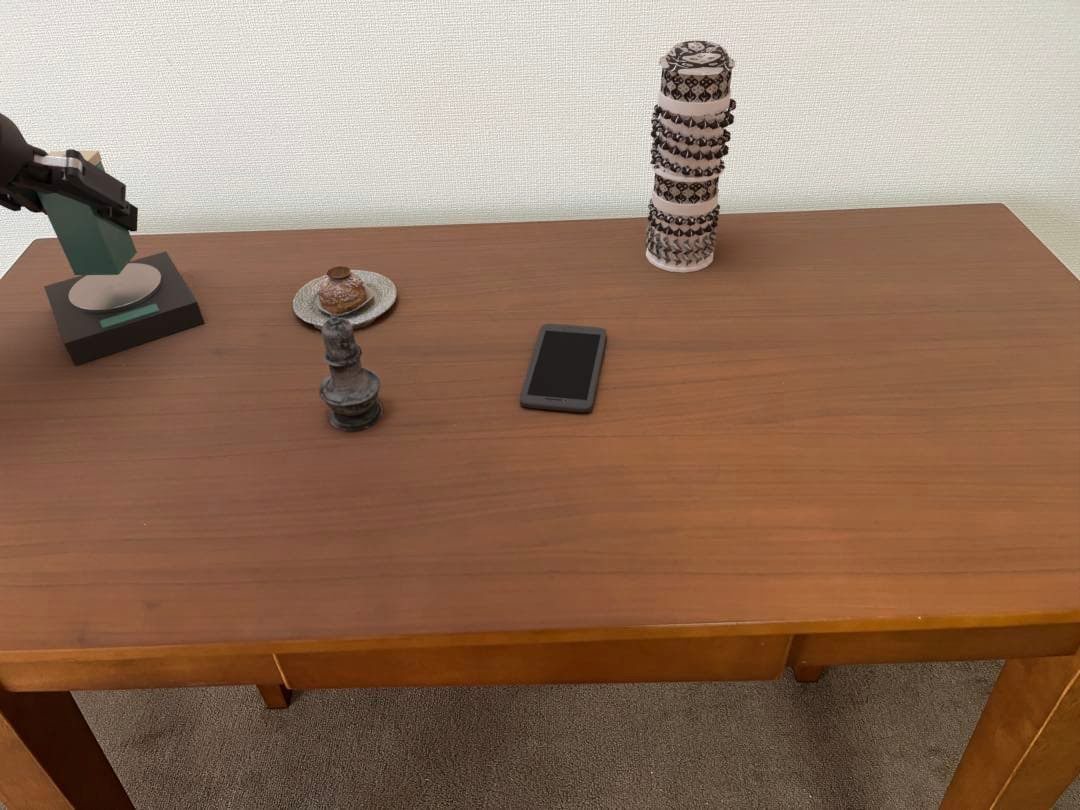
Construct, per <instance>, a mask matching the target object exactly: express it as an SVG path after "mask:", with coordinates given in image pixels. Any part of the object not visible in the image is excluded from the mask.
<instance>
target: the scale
mask: <svg viewBox="0 0 1080 810" xmlns="http://www.w3.org/2000/svg"><path fill="white" fill-rule="evenodd" d="M129 263H139V264H146V265H150V266H152V267H154V268H156V269H157V270H158V271H159V272H160V274H161V277H162V285H161V287H160V289H159V290H158V291H157V293H156V294H154V295H153V296H152V297H151V298H149V299H148V300H146V301H144V302H143V303H141V304H139V305H136V306H134V307H131V308H128V309H125V310H122V311H117V312H112V313H104V314H92V313H85V312H81V311H79V310H77V309H75V308H74V307H73V306H72V304H71V303H70V300H69V292H70V290H71V288H72V287H73V286H74V284H75V283H77V282H78V281H79V280H80V279H82V278H83V277H85V276H87V275H77V276H74V277H72V278H68V279H65V280H61V281H58V282H55V283H51V284H48V285H44V287H43V288H44V290H45V294H46V296H47V299H48V302H49V304H50V305H49V306H50V307H51V310H52V314H53V316H54V319H55V322H56V325H57V327H58V330H59V333H60V336H61V340H62V342H63V345H64V346H65V348H66V351H67V352H68V355H69V356H70V359H71V360H72V363H73V364H74V366H75V367H76V366H79V365H82V364H85V363H88V362H91V361H95V360H98V359H100V358H103V357H106V356H109V355H112V354H115V353H118V352H121V351H124V350H127V349H131V348H133V347H137V346H139V345H143V344H145V343H149V342H151V341H154V340H157V339H161V338H163V337H167V336H170V335H172V334H176V333H179V332H182V331H186V330H189V329H191V328H195V327H197V326H200V325H203V324H205V319H204V317H203V315H202V312H201V309H200V306H199V302H198V300H197V299H196V298H195V296H194V294H193V293H192V291H191V289H190V287H189V286H188V284H187V283H186V281H185V280H184V278H183V276H182V274H181V273H180V271H179V270H178V268H177V266H176V265H175V263H174V261H173V260H172V258H171V257H170V255H169V254H168V252H167V250H166V251H161V252H157V253H154V254H151V255H148V256H145V257H140V258H138V259H134V260H130V261H129Z"/></svg>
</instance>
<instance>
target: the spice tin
mask: <svg viewBox="0 0 1080 810" xmlns="http://www.w3.org/2000/svg"><path fill="white" fill-rule="evenodd" d="M78 151H79V152H80V153H81V154H82V156H83V157H84V159H85V160H87V161H88V162H90V163H91V164H93V165H95V166H96V167H98V168H100V169H101V170H103V171H104V172H106V170H105V167H104V165H103V163H102V160H103V159H102V156H101V153H100V150H78ZM63 154H66V150H62V151H58V150H57V151H56V150H55V151H49V152H48V155H49V156H55V157H63ZM36 192H37V194H38V196H39V198H40V200H41V203H42V205H43V207H44V209H45V211H46V214H47V215H46V217H47V218H48V220H49V223H50V224H51V227H52V229H53V231H54V233H55V236H56V238H57V240H58V242H59V244H60V246H61V248H62V250H63V253H64V255H65V257H66V259H67V261H68V264H69V266H70V268H71V271H72V272H73V274H74V276H82V275H119V274H120V273H121V271H122V270H123V269H124V268H125V266H126V265H127V264H128V263H129V262H130V261H132V259H133V258H134V257H135V256H136V254H137V253H138V252H137V248H136V246H135V243H134V241H133V238H132V236H131V232H130V231H129V230H127V229H125V228H123V227H121V226H120V225H118V224H116V223H114V222H112V221H110V220H109V219H107V218H102V217H101V215H99V214H98V213H97V209H96V208H94V207H91V206H89V205H86V204H83V203H81V202H78V201H75V200H73V199H70V198H68V197H65V196H62V195H60V194H57V193H51V194H44V193H41V192H38V191H36Z"/></svg>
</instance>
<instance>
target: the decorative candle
mask: <svg viewBox="0 0 1080 810" xmlns="http://www.w3.org/2000/svg"><path fill="white" fill-rule="evenodd" d="M658 65H660V66H661V77H660V82H661V83H660V86H659V89H658V97H657V98H658V100H657V104H656V105H654V107H653V110H654V111H653V112H652V114H651V115H652V118H651V120H650V123H651V125H652V126H651V129H652V130H651V131H650V137H652V138H653V139H652V143H651V147H652V148H651V149H650V154H651V160H650V163H649V164H650V165H651V169H652V170H653V172H654V181H653V182H654V184H653V185H652V191H651V198H650V200H649V203H648V206H647V208H648V210H649V212H648V214H649V215H648V216H647V221H648V223H649V224H648V225H647V228H646V231H645V233H646V236H647V238H646V240H645V246H646V252H645V257H646V259H647V261H648V262H649V263H650V264H651V265H652V266H654V267H655V268H657V269H661V270H664V271H667V272H671V273H683V274H684V273H692V272H698V271H701V270H703V269H705V268H707V267H709V266H710V265H711V263H712V262H713V261H714V252H715V251H716V247H715V246H716V242H715V241H716V240H717V236H716V235H717V234H718V231H717V229H715V228H717V227H718V226H719V225H718V222H719V216H718V215H720V209H721V205H720V204H719V203H718V202H719V201H718V200H719V191H720V189H719V181H720V176H721V175H722V174H723V173H725V169H726V166H725V161H724V160H723V159H722V158H723V157H725V156H727V155H728V154H729V150H730V147H729V146H728V145H727V144H726V143H728V142H730V141H731V138H732V137H731V135H732V134H731V132H730V131H729V130H728V129H727V128H728V127H729V126H731V125H733V124H734V123H735V116H734V114H733V113H731V112H732V111H734V110H736V108H737V101H736V100H735V99H734V98H731V95H732V89H731V81H732V73H733V69H734V68H735V67H736V60H735V59H733V58H732V57H731V56H729V54H728V51H727V49H726V48H725V47H723V46H722V45H721V44H718V43H716V42H713V41H708V40H686V41H683V42H679V43H676V44H675V45H674V46H672V47H671V48H669V51H668V52H667V54H665V55H664V56H662V57H660V58H659V62H658Z"/></svg>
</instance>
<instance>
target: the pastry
mask: <svg viewBox="0 0 1080 810" xmlns="http://www.w3.org/2000/svg"><path fill="white" fill-rule="evenodd" d="M397 292H398V290H397V287H396V285H395V284H394V282H393V281H392V280H391V279H390V278H388V277H387V276H384V275H382V274H379V273H378V272H374V271H370V270H363V269H350V268H349V267H347V266H342V265H341V266H334V267H332V268H330V269H328V270H327V272H326V274H324V275H321V276H320V277H317V278H314V279H312V280H310V281H309V282H307V283H305V284H304V285H303V286H302V287H301V288H299V289H298V291H297V292H296V294H295V296H294V297H293V300H292V310H293V312H294V314H295V315H296V316H297V317H298V318H299V319H301V320H302V321H304V322H305V323H307V324H310V325H313V327H314V329H316V330H319V331H322V326H323V324H324V323H325V322H326V321H327V320H329V319H331V318H330V316H331V314H332V313H333V312H334V313H336V314H337V315H338V317H340V318H345V319H346V320H348V321H349V322H350V323H351V325H352V328H353V330H356V329H359V328H364V327H367V326H369V325H371V324H372V323H373V322H375V320H376V318H378V317H380V316H381V315H383V314H384V313H386V312H387V311H388V310H389V309H391V307H392V306H393V305H394V303H395V302H396V299H397V295H398V294H397Z"/></svg>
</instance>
